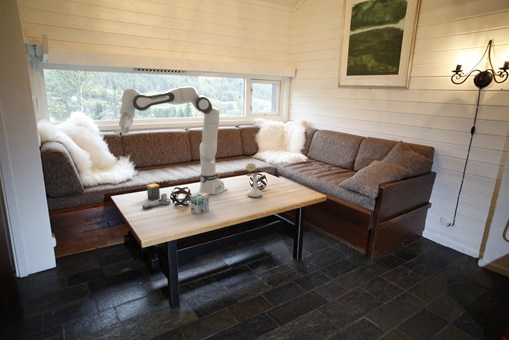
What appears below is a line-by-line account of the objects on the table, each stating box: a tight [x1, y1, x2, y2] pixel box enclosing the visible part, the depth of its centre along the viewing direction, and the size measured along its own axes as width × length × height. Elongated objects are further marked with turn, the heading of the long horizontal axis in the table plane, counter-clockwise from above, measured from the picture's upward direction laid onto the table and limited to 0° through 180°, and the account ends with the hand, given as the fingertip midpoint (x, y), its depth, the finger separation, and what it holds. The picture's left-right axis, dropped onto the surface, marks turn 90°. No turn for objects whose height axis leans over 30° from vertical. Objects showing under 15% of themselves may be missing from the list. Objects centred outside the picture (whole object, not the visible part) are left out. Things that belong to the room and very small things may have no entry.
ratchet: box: [142, 192, 171, 211], centre depth 202 cm, size 19×8×7 cm, turn 139°
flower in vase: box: [245, 162, 263, 198], centre depth 224 cm, size 13×11×25 cm
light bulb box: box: [190, 192, 210, 215], centre depth 196 cm, size 11×7×11 cm, turn 146°
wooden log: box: [146, 182, 161, 202], centre depth 214 cm, size 6×6×10 cm
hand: (124, 133), depth 203 cm, fingers open, 8 cm apart
